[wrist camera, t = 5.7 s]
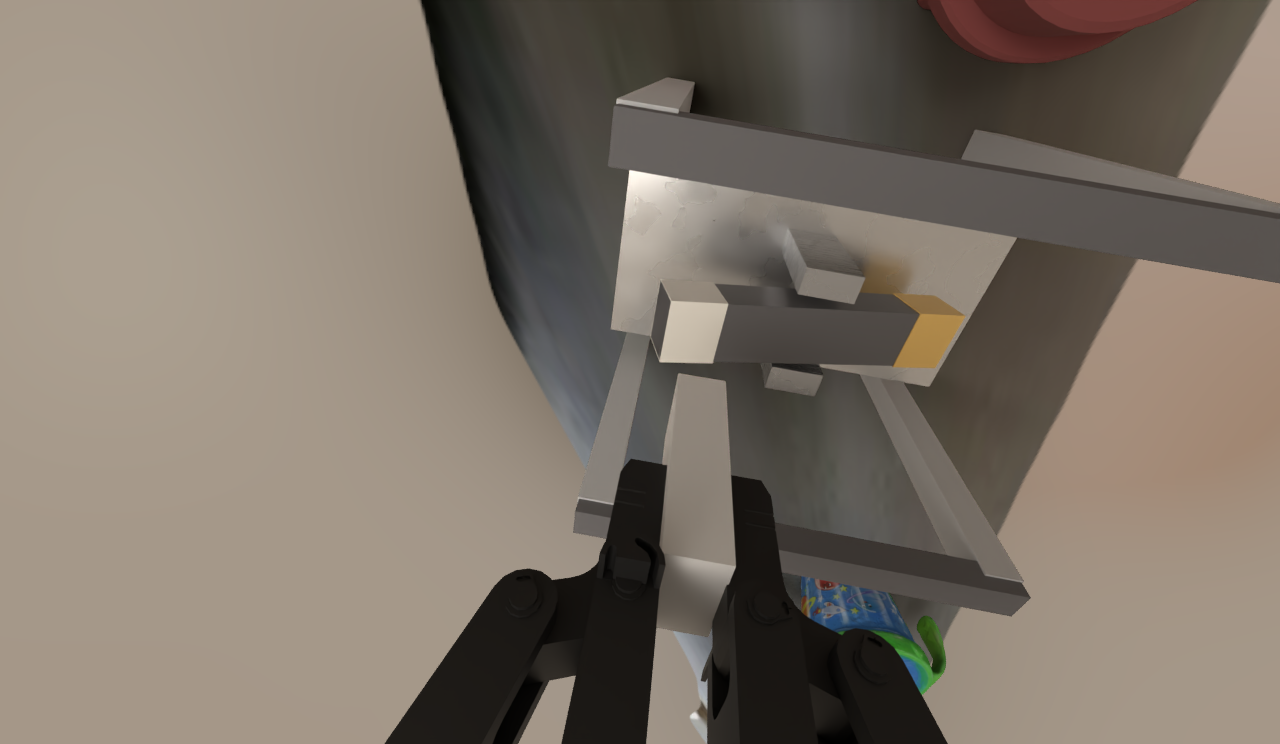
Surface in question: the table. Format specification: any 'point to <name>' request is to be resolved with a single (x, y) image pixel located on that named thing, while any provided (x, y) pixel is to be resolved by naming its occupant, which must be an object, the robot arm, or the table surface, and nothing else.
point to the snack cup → (875, 623)
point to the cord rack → (937, 193)
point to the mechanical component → (1042, 25)
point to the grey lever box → (793, 259)
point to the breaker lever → (798, 326)
